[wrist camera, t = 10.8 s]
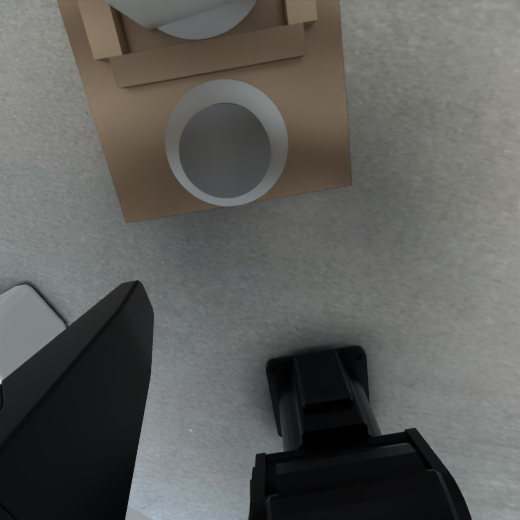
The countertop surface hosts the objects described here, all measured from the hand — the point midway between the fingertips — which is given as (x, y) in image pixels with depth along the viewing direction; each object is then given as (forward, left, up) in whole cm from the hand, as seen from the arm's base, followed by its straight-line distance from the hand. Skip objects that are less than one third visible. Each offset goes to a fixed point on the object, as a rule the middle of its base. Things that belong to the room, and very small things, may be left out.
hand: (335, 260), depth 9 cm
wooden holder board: (+7, +3, -13) cm, 15 cm away
